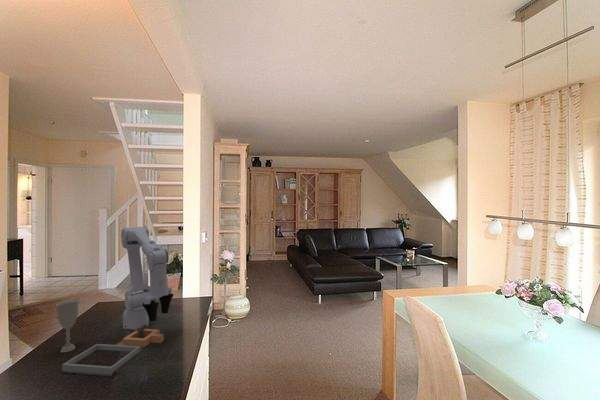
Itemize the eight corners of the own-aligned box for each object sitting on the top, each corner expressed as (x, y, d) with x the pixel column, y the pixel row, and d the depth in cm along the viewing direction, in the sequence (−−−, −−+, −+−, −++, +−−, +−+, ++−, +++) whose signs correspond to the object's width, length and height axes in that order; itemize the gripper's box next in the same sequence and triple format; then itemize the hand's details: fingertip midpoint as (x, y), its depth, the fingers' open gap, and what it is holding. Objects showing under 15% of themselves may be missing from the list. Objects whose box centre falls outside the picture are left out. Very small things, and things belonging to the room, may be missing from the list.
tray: (62, 372, 93) (62, 364, 93) (97, 350, 107) (96, 343, 107) (111, 376, 91) (111, 368, 91) (140, 353, 104) (140, 346, 104)
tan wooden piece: (113, 348, 108) (113, 331, 108) (132, 336, 118) (132, 320, 118) (142, 350, 107) (142, 332, 107) (159, 337, 117) (159, 321, 117)
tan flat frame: (122, 345, 108) (122, 339, 108) (139, 334, 117) (139, 328, 117) (154, 347, 107) (154, 341, 107) (169, 336, 115) (168, 330, 115)
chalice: (84, 348, 108) (84, 300, 108) (64, 358, 102) (64, 307, 102) (71, 345, 111) (70, 298, 111) (51, 354, 104) (50, 305, 104)
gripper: (156, 286, 104) (157, 324, 104) (178, 276, 118) (179, 310, 118) (138, 286, 105) (139, 324, 105) (162, 276, 119) (163, 309, 119)
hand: (159, 316), depth 111 cm, fingers open, 7 cm apart
